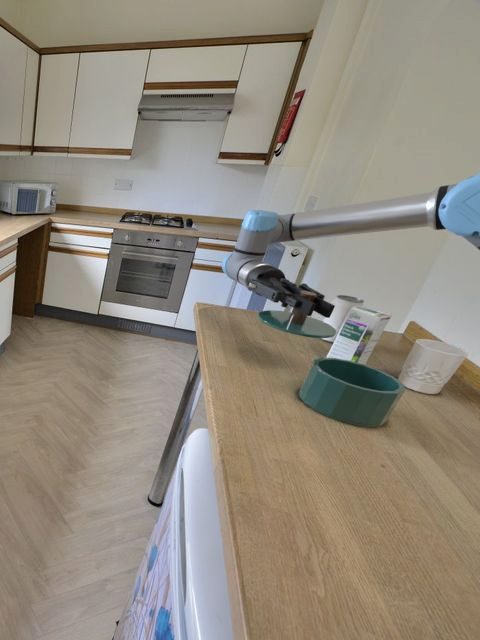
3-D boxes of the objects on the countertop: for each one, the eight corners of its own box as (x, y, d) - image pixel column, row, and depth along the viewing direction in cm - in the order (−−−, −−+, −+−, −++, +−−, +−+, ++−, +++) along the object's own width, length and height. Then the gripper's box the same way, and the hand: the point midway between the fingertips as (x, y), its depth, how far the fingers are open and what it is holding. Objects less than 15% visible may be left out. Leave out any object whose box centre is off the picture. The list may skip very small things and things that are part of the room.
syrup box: (322, 362, 101) (349, 307, 94) (336, 358, 103) (363, 304, 96) (349, 373, 96) (379, 316, 90) (363, 369, 98) (393, 313, 92)
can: (325, 342, 112) (345, 301, 106) (311, 333, 117) (329, 293, 112) (351, 345, 111) (372, 303, 106) (336, 335, 117) (355, 295, 111)
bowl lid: (335, 327, 94) (351, 294, 91) (332, 347, 84) (350, 310, 81) (261, 310, 103) (274, 278, 99) (251, 326, 93) (264, 291, 89)
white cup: (393, 373, 97) (416, 335, 92) (441, 387, 92) (467, 347, 87) (392, 385, 92) (415, 345, 87) (442, 400, 87) (470, 359, 82)
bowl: (383, 406, 83) (401, 374, 80) (386, 436, 74) (407, 402, 71) (302, 381, 91) (316, 351, 88) (295, 405, 82) (310, 373, 79)
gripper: (288, 294, 108) (353, 330, 87) (225, 289, 109) (274, 323, 88) (299, 267, 105) (370, 297, 84) (234, 262, 106) (287, 290, 85)
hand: (320, 310), depth 86 cm, fingers closed on bowl lid, 3 cm apart
